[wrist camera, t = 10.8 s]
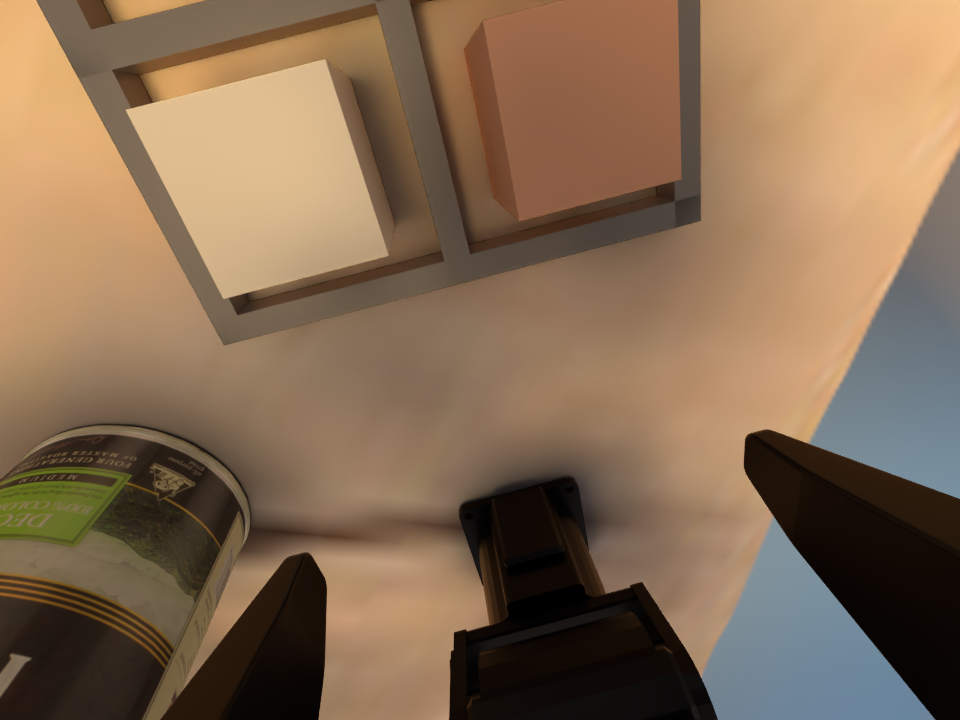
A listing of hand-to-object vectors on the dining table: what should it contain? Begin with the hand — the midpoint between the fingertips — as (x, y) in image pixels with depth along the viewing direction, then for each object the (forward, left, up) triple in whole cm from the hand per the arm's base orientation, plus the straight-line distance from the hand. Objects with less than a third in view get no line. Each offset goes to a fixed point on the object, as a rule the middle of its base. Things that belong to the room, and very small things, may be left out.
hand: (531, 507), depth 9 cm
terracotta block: (+6, -4, -12) cm, 14 cm away
